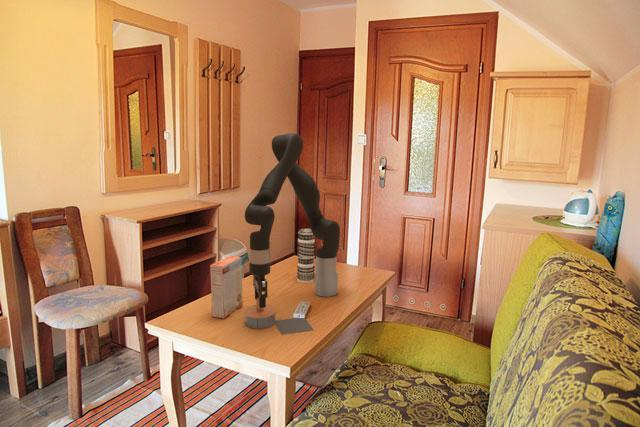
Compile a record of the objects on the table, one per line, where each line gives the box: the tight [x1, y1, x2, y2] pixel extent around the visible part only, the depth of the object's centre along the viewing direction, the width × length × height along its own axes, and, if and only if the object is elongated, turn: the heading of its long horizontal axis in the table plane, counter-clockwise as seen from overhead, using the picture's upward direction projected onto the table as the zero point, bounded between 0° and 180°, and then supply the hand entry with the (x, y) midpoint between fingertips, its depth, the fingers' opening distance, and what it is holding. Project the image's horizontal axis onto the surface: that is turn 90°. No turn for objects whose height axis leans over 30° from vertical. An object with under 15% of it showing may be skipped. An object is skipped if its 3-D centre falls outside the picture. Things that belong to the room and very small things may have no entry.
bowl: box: [245, 313, 276, 330], centre depth 160 cm, size 10×10×4 cm
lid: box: [244, 298, 276, 319], centre depth 159 cm, size 11×11×5 cm
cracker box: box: [209, 255, 244, 319], centre depth 169 cm, size 14×6×21 cm, turn 160°
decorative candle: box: [296, 227, 317, 284], centre depth 208 cm, size 9×9×25 cm
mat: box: [274, 317, 315, 336], centre depth 158 cm, size 12×12×1 cm
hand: (260, 303), depth 159 cm, fingers open, 8 cm apart
